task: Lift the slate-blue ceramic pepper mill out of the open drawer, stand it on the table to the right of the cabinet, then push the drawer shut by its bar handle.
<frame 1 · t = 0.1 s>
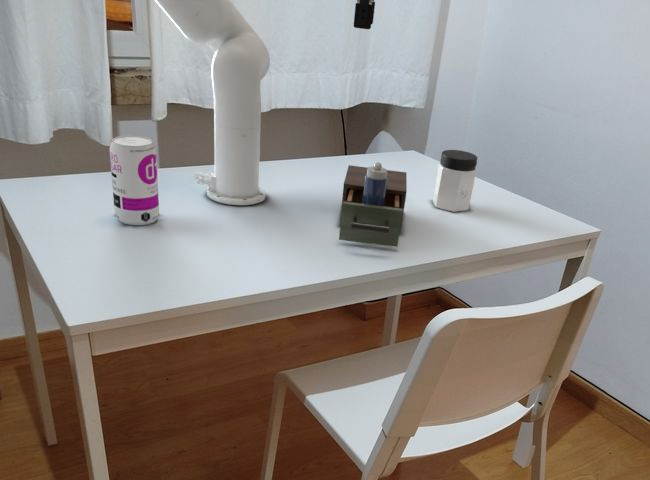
hand: (363, 25, 128), 37 cm above the table, tool pointing down, fingers open, 9 cm apart
jar: (450, 206, 158), on the table
supplement can: (137, 219, 130), on the table
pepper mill: (370, 228, 133), point 2 cm above the table, touching drawer
cabinet: (371, 219, 144), on the table
drawer: (371, 218, 131), point 5 cm above the table, slide at 8.0 cm, touching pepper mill
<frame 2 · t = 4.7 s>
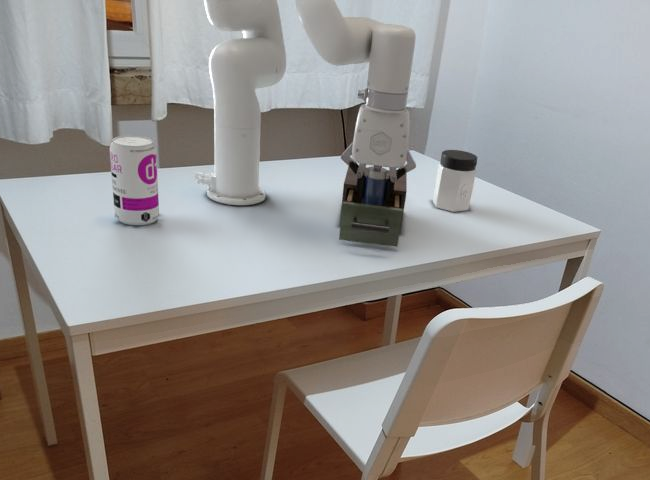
hand: (373, 197, 130), 8 cm above the table, tool pointing down, fingers closed on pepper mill, 4 cm apart
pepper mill: (370, 228, 133), point 2 cm above the table, touching drawer, gripper
everything else where it was.
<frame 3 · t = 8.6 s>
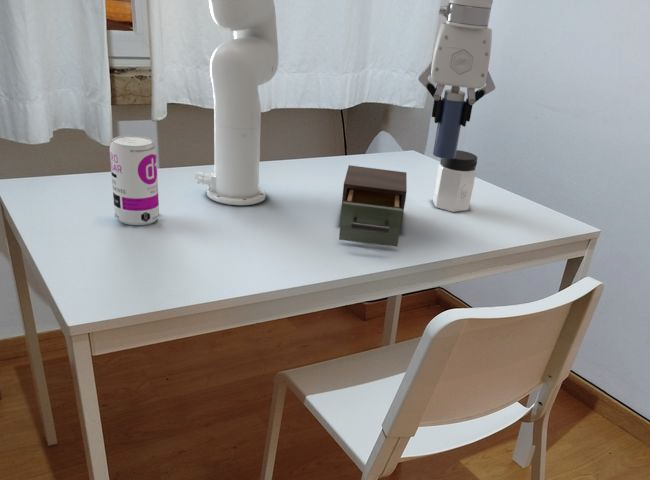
hand: (449, 122, 128), 23 cm above the table, tool pointing down, fingers closed on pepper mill, 4 cm apart
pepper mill: (444, 155, 131), point 17 cm above the table, touching gripper
drawer: (371, 218, 131), point 5 cm above the table, slide at 8.0 cm
everything else where it was.
when the fingers open (6 cm above the table, at t = 12.6 s): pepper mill stays where it is, on the table.
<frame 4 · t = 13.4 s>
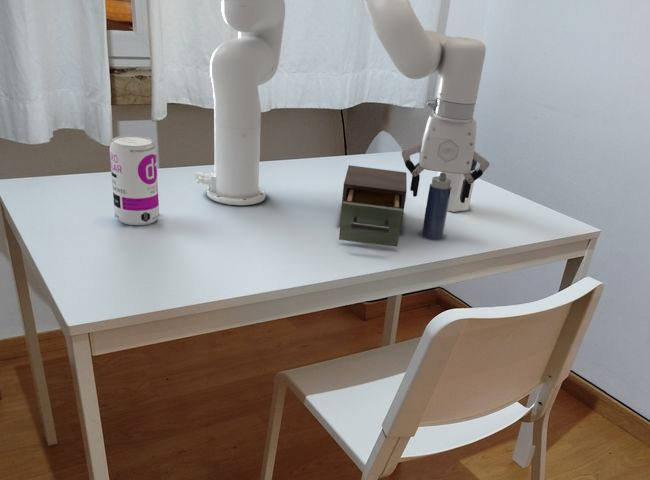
hand: (438, 197, 135), 8 cm above the table, tool pointing down, fingers open, 9 cm apart
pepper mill: (432, 235, 139), on the table
everything else where it was.
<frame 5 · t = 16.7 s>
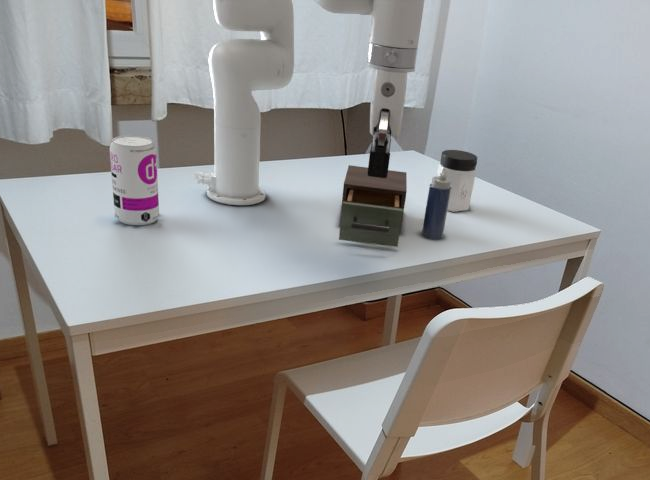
hand: (378, 168, 112), 18 cm above the table, tool pointing down, fingers open, 9 cm apart
nothing on the table moved.
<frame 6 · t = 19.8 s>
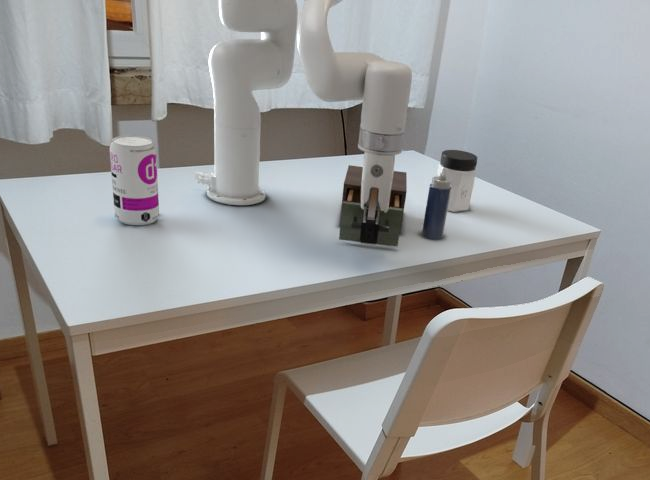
hand: (368, 241, 123), 4 cm above the table, tool pointing down, fingers closed
drawer: (371, 217, 131), point 5 cm above the table, slide at 7.9 cm, touching gripper
everything else where it was.
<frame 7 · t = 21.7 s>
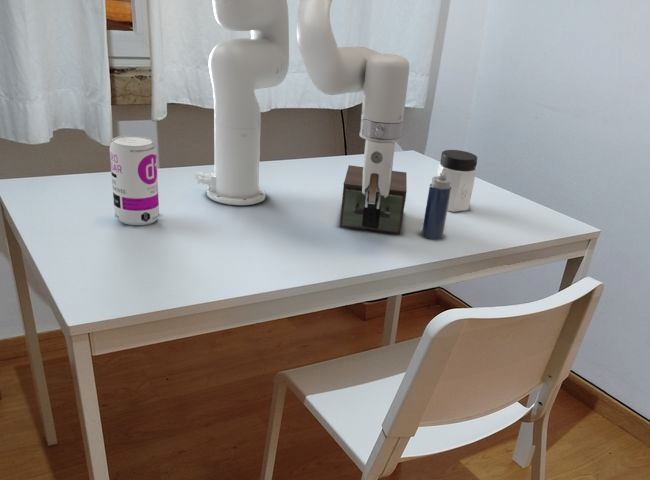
hand: (370, 226, 130), 4 cm above the table, tool pointing down, fingers closed
drawer: (373, 204, 138), point 5 cm above the table, slide at 0.0 cm, touching cabinet, gripper
everything else where it was.
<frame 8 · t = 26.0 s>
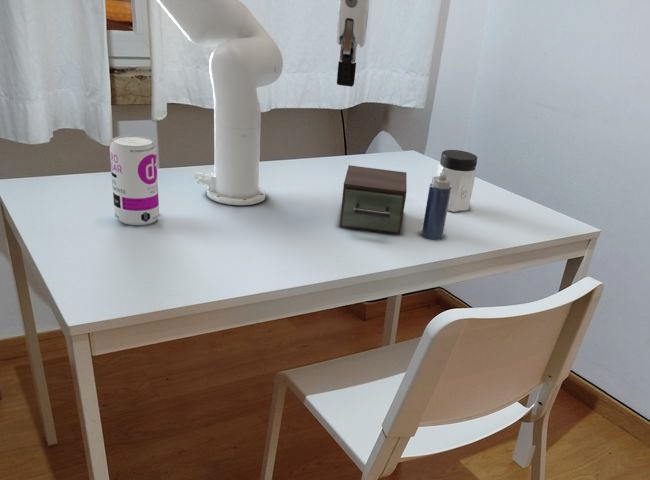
hand: (345, 84, 126), 27 cm above the table, tool pointing down, fingers closed
drawer: (373, 204, 138), point 5 cm above the table, slide at 0.0 cm, touching cabinet
everything else where it was.
at the end: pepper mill inside the target area (0.5 cm from its centre), on the table; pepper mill tilted 0°; drawer slide at 0.0 cm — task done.
